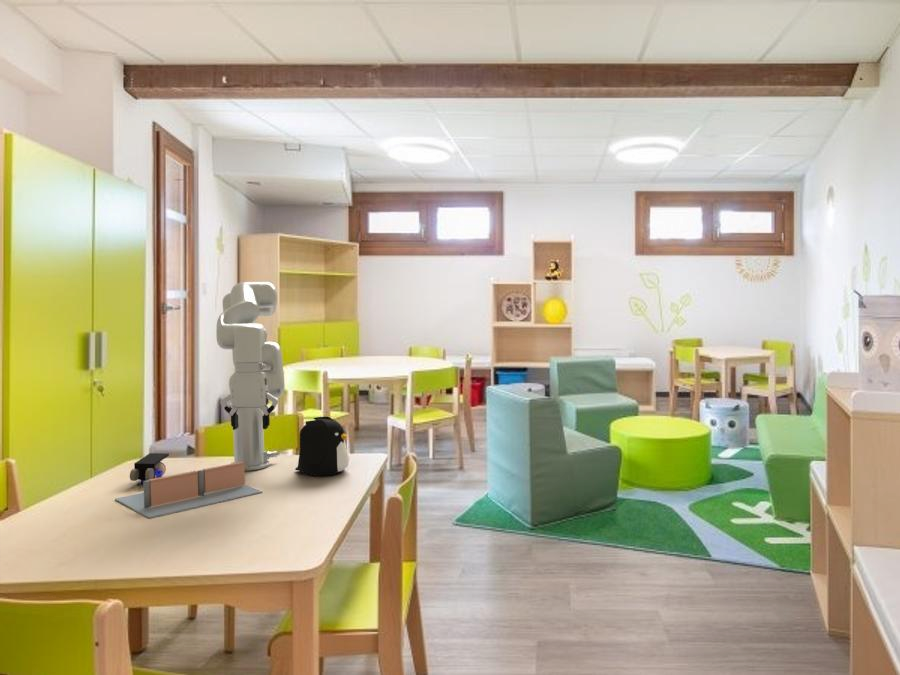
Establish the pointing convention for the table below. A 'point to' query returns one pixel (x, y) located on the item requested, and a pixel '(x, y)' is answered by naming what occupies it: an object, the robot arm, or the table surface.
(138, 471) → the black toy car
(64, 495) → the table surface
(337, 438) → the penguin
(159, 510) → the card
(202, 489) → the fence fixed
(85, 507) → the table surface
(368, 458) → the table surface
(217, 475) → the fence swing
